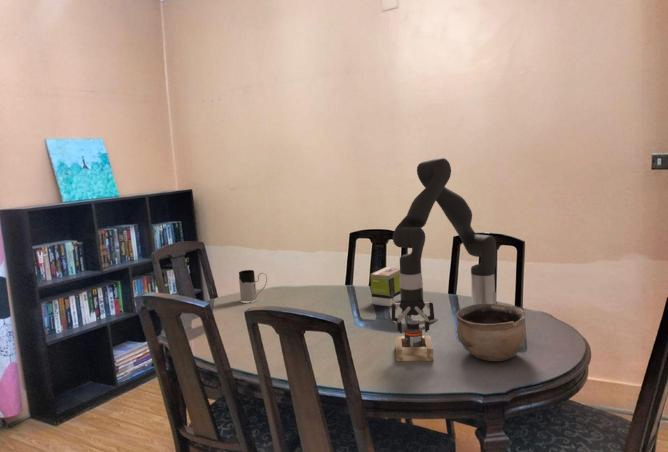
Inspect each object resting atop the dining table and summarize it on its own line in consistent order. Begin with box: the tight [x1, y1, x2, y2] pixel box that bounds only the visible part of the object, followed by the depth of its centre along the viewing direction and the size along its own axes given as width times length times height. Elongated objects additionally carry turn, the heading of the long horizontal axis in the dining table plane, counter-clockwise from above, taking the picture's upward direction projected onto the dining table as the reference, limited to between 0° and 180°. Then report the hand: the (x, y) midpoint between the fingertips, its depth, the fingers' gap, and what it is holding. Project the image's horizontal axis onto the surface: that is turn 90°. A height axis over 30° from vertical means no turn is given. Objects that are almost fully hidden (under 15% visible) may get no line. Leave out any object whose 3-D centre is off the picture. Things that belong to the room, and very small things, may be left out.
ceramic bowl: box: [455, 303, 527, 362], centre depth 159 cm, size 22×22×15 cm
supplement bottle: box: [403, 319, 423, 347], centre depth 165 cm, size 6×6×11 cm
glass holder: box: [238, 269, 268, 301], centre depth 242 cm, size 9×14×15 cm, turn 96°
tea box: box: [370, 266, 401, 307], centre depth 227 cm, size 15×10×15 cm
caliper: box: [408, 317, 439, 326], centre depth 191 cm, size 20×1×6 cm, turn 137°
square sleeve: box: [394, 335, 434, 362], centre depth 166 cm, size 12×12×4 cm
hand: (413, 331), depth 165 cm, fingers open, 8 cm apart
